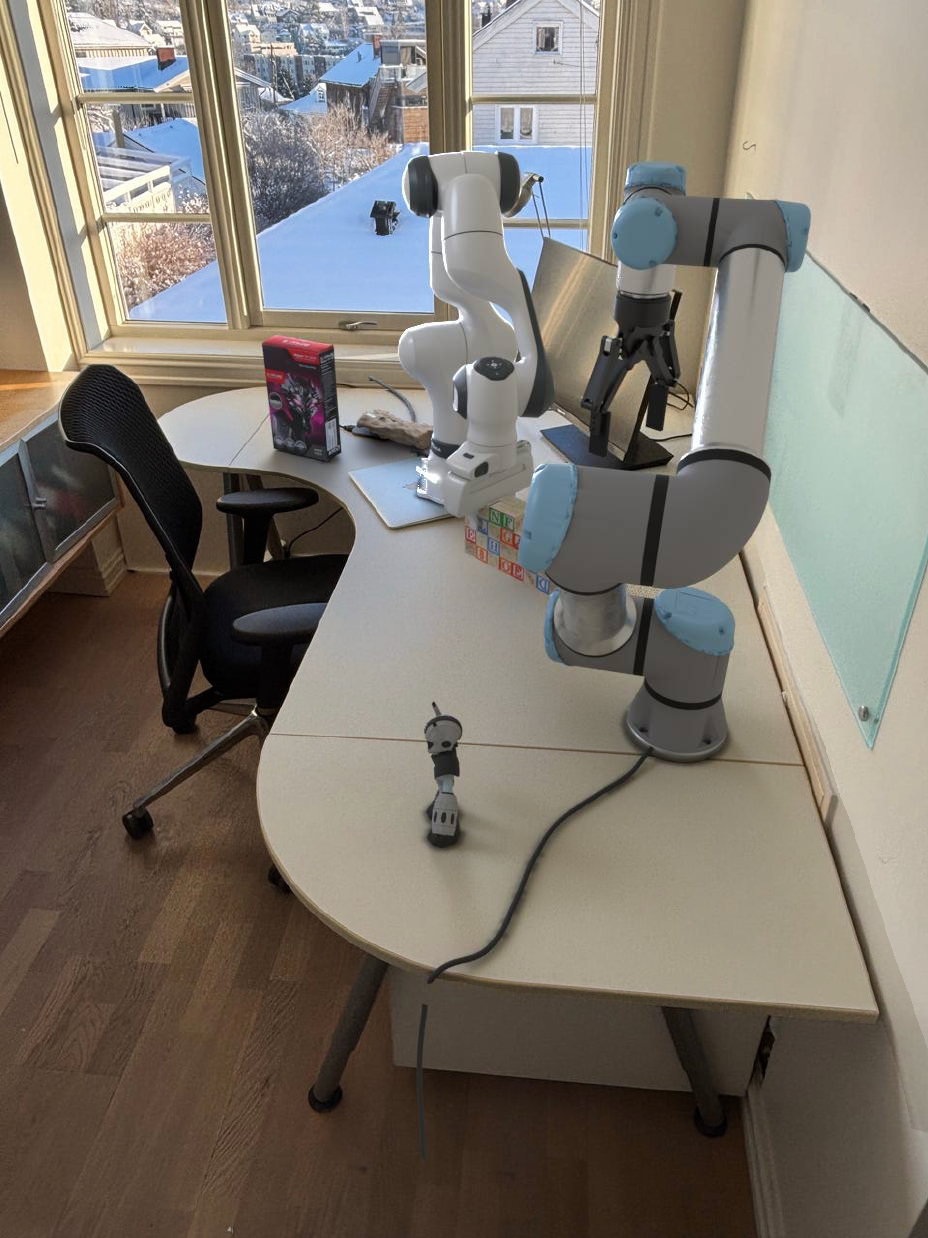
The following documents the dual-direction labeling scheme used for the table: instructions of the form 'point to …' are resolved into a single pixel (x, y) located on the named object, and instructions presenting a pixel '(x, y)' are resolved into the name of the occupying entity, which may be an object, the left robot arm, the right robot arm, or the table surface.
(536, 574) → the stack of blocks
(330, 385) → the graphics card box
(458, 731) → the robot
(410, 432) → the stone
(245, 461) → the table surface
